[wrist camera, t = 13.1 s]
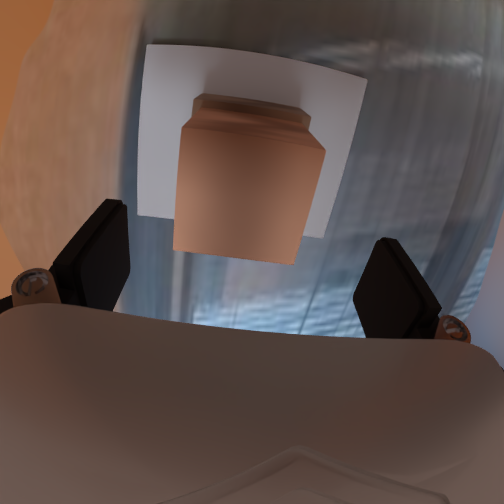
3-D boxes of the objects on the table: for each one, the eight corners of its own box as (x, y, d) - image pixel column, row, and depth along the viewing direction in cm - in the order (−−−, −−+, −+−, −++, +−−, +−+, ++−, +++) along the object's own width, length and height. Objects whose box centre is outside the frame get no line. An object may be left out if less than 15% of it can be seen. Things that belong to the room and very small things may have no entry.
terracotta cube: (301, 123, 17) (326, 150, 12) (281, 210, 20) (293, 265, 15) (201, 107, 16) (181, 127, 11) (190, 197, 20) (173, 249, 15)
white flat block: (362, 78, 19) (390, 84, 15) (320, 232, 27) (333, 266, 23) (150, 45, 18) (127, 41, 14) (141, 209, 25) (122, 240, 21)
